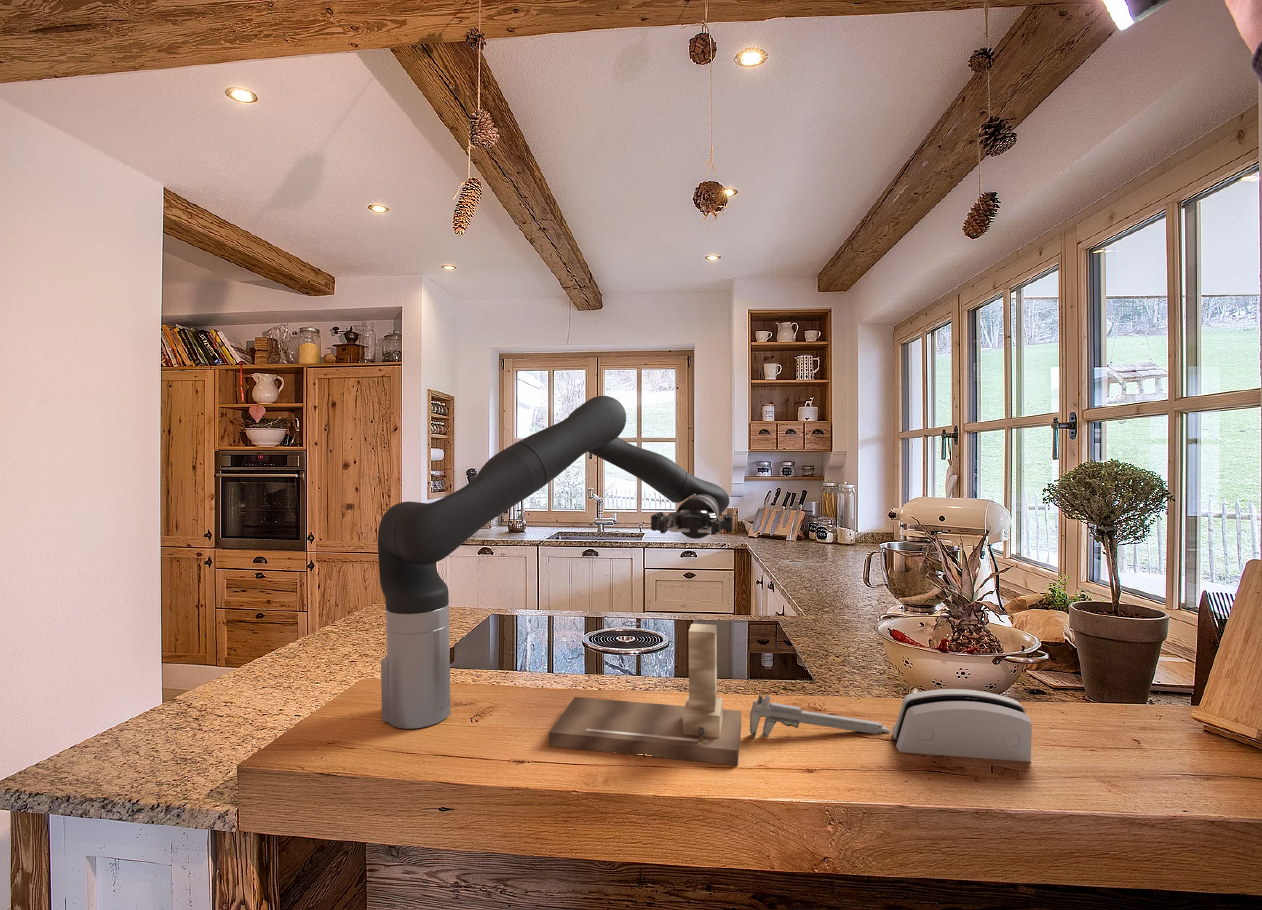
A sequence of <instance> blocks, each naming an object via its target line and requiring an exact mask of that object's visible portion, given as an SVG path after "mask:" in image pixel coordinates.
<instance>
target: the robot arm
mask: <svg viewBox="0 0 1262 910" xmlns="http://www.w3.org/2000/svg"><path fill="white" fill-rule="evenodd" d="M626 423H627V412H626V409H625V407H624V406H623V404H622V403H621V402H620V401H619V400H617V398H614V397H612V396H608V395H598V396H594V397H591V398H589V399H588V400H587V401H585V402H583V404H581V405H579V406H578V407H576V408H575V409H574V410H573V411H572V412H571V413H570V414H569V415H568V417H566V418H565V419H563V420H561V421H559V422H558V423H554V424H553V425H550V426H548V427H546V428H544V429H541V430H538V431H536V432H535V433H532V434H530V435H529V436H526V437H524V438H523V439H520V440H519V441H517V442H514V443H513V444H511V445H509V446H508V447H506V448H505V449H502V450H501V451H499V452H497V453H496V454H495V455H493V456H492V457H490V458H489V459H488V460H487V461H486V462H485V464H483V465H482V467H481V468H480V470H478V473H476V475H475V476H474V478H473V479H472V480H471V481H470V482H468V483H467V484H466V485H465V486H463V487H462V488H459V489H458V490H456V491H454V492H452V493H450V494H448V495H446V496H444V497H443V498H440V499H438V500H435V501H432V502H420V501H418V502H417V501H402V502H398V503H396V504H394V505H392V506H391V507H389V508H388V509H387V510H386V511H385V513H384V514H383V516H382V518H381V519H380V523H379V526H378V532H377V553H378V554H377V555H378V558H377V559H378V569H379V570H378V572H379V574H378V575H379V584H380V589H381V592H382V594H383V596H384V599H385V628H386V630H385V631H386V633H385V634H386V656H384V657H383V658H381V660H380V683H381V684H380V687H381V689H380V690H381V722H385V723H388V724H389V725H390V726H392V727H394V728H397V729H398V728H399V729H404V730H405V729H407V730H408V729H420V728H426V727H430V726H434V725H435V724H439V723H440V722H442V721H444V720H445V719H446V718H448V716H450V714H451V700H452V699H451V666H450V665H451V663H450V662H451V660H450V659H451V657H450V655H451V654H450V645H451V644H450V603H449V602H450V601H449V599H450V596H449V587H448V584H446V583H445V581H444V580H443V579H442V577H441V576H440V573H439V572H438V569H437V565H436V563H437V562H440V561H442V560H444V559H446V558H447V557H448V556H450V555H451V554H452V553H453V552H455V550H457V549H458V548H459V547H460V546H461V545H462V544H464V543H465V542H466V541H467V540H469V539H470V538H471V537H472V536H473V535H475V533H477V532H478V531H479V530H481V529H482V528H484V527H485V525H487V524H488V523H489V522H491V521H493V520H494V519H496V518H498V517H499V516H501V515H502V514H504V513H506V512H507V511H508V510H510V509H511V508H513V507H514V506H515V505H517V504H519V503H520V502H522V501H524V500H525V499H527V498H529V497H530V496H531V495H533V494H534V493H536V492H538V491H539V490H540V489H542V488H543V487H545V486H546V485H548V484H549V483H550V482H551V481H553V480H554V479H556V477H558V476H559V475H561V474H562V473H563V472H564V471H565V470H566V469H568V468H569V467H570V466H571V465H572V464H574V462H576V460H578V459H579V458H581V456H584V454H586V453H588V454H591V455H593V456H596V458H599V459H600V460H601V459H602V460H604V461H605V462H608V463H609V464H611V465H614V466H615V467H617V468H619V469H622V471H625V472H626V473H629V474H630V475H632V476H634V477H636V478H638V479H639V480H641V481H642V482H643V483H645V484H647V485H648V486H650V487H651V488H652V489H654V490H655V491H656V492H658V493H659V494H660V495H662V496H663V497H665V498H666V499H667V500H669V501H670V502H672V503H674V504H679V503H681V504H680V505H679V507H678V508H677V510H676V511H675V512H673V511H672V512H669V513H668V515H665V513H664V512H661V511H658V512H656V513H654V514H652V515H651V516H650V530H651V531H653V532H654V531H655V532H656V531H658V532H659V533H660V534H666V533H667V532H668V531H669V533H670V532H671V533H681V534H682V535H684V536H685V537H687V538H690V539H694V540H700V539H704V538H706V537H707V536H709V535H710V534H711V535H717V534H720V533H722V532H723V530H725V532H726V533H733V531H734V529H733V520H734V519H733V517H734V516H733V514H732V513H731V512H730V513H729V512H728V513H726V514H723V513H724V512H725V511H726V509H728V507H729V505H730V496H729V494H728V492H727V491H726V490H725V488H722V487H721V486H719V485H718V484H715V483H713V482H710V481H707V480H704V479H701V478H699V477H697V476H694V475H692V474H691V473H689V472H688V471H686V470H685V469H684V468H683V467H681V466H679V464H677V463H676V462H674V461H673V460H671V459H670V458H668V457H667V456H664V455H663V454H660V453H657V452H654V451H652V450H648V449H646V448H645V449H644V448H641V447H639V446H636V445H634V444H631V443H629V442H627V441H625V440H624V439H622V438H620V437H619V436H620V435H621V434H622V432H623V431H624V429H625V427H626ZM722 514H723V515H722ZM721 515H722V517H721Z"/></svg>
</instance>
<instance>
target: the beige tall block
mask: <svg viewBox="0 0 1262 910" xmlns="http://www.w3.org/2000/svg"><path fill="white" fill-rule="evenodd" d="M717 626H718V625H717V624H706V623H705V624H704V623H691V624H690V626H689V629H688V695H687V699H686V701H685V705H684V706H685V708H684V711H683V734H686V735H697V736H707V737H718V738H720V732H721V725H722V719H723V697H718V672H717V671H718V661H717V660H718V657H717V656H718V653H717V649H718V648H717V647H718V646H717V645H718V641H717V640H718V639H717V638H718V637H717V629H718V628H717Z"/></svg>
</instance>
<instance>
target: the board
mask: <svg viewBox="0 0 1262 910" xmlns="http://www.w3.org/2000/svg"><path fill="white" fill-rule="evenodd" d="M684 708H685V705H676V704H664V703H652V702H651V703H650V702H640V701H639V702H638V701H627V700H626V701H625V700H615V699H604V698H603V699H602V698H593V697H581V696H580V697H579V696H574V697H573V699H572V700H571V701H570V702H569V704H568V705H567V707H566V708H565V709H564V711H563V712H562V713H561V715H560V716H559V717H558V719H557V721H555V723H554V724H553V725H552V727H551V728H550V730H549V731H548V747H553V748H563V749H573V750H582V749H586V750H585V751H591V750H594V751H593V752H601V751H606V752H605V753H611V752H616V753H615V754H621V753H623V754H622V755H630V754H643V755H645V754H647V755H652V756H658V757H657V758H660V757H664V758H663V759H670V760H671V759H672V760H681V761H689V762H700V763H709V764H710V763H711V764H721V765H727V766H728V765H729V766H739V757H740V756H739V753H740V744H741V743H740V742H741V731H742V710H736V709H735V710H734V709H723V719H722V725H721V732H720V738H718V737H707V736H697V735H686V734H683V711H684Z"/></svg>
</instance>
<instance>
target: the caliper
mask: <svg viewBox="0 0 1262 910" xmlns="http://www.w3.org/2000/svg"><path fill="white" fill-rule="evenodd" d="M770 700H771V697H770V696H769V694H766V696H764V698H763V696H762V694H761V692H760V693H759V694H758V698H757V700H753V702H752V705H751V709H750V712H749V732H750V735H751V736H752V737H753V738H756V735H757V732H758V728H759V724H760V720H761V717H764V718H765V719H764V722H763V723H764V724H763V727H762V734H763V735H762V734H761V735H762V736H764V737H767V738H768V737H769V735H771V732H772V730H773V729H774V727H775V725H776V723H777V722H779V723H780V724H782V725H785V727H794V728H796V729H798V728H799V725H800V724H807V725H813V726H819V727H820V726H821V727H826V728H827V727H828V728H832V729H833V728H834V729H840V730H845V731H852V732H859V733H865V734H882V733H886V734H887V733H888V734H891V730H890V729H889V728H887V726H884V725H883V724H882V723H881V722H877V721H872V720H867V719H862V718H861V719H860V718H853V717H849V716H848V717H847V716H841V715H840V716H839V715H835V714H827V713H822V712H815V711H806V710H802V708H801V707H800V706H795V705H789V704H783V703H778V702H770ZM764 737H763V738H764Z"/></svg>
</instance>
